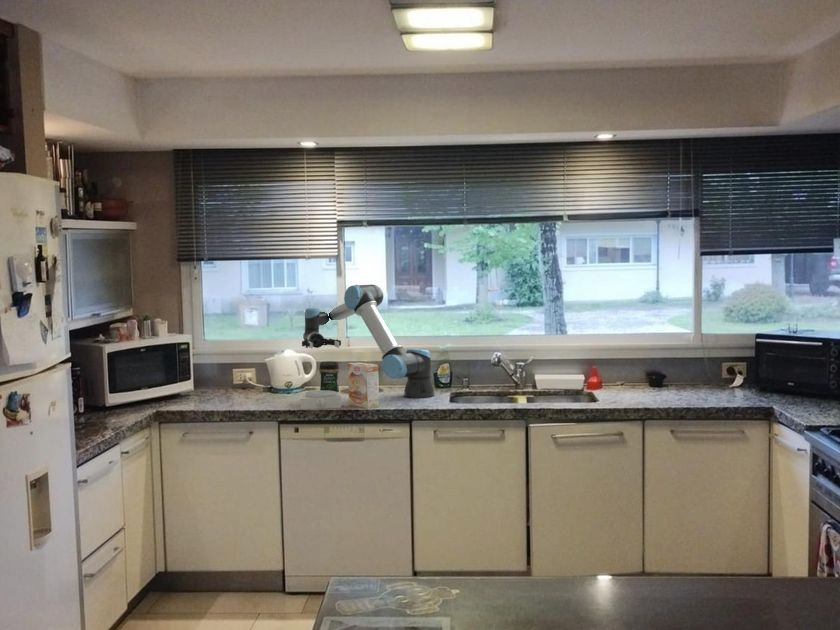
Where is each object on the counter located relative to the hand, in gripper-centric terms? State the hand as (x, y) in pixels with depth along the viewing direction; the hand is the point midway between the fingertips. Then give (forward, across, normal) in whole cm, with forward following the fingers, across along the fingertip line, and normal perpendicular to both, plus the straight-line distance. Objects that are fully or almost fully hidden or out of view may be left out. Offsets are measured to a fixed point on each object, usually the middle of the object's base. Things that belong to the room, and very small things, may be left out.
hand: (325, 345), depth 381 cm
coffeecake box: (+36, -10, -24) cm, 44 cm away
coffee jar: (+10, 0, -25) cm, 27 cm away
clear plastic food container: (+27, +8, -24) cm, 37 cm away
